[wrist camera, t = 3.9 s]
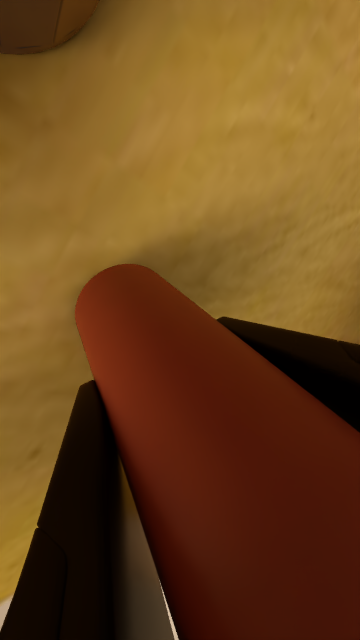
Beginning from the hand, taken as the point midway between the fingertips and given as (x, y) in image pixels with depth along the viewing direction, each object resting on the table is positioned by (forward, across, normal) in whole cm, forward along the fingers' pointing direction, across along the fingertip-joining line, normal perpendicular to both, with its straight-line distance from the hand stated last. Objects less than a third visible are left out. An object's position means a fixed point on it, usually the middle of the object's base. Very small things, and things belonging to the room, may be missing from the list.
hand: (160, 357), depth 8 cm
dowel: (+4, 0, 0) cm, 4 cm away
